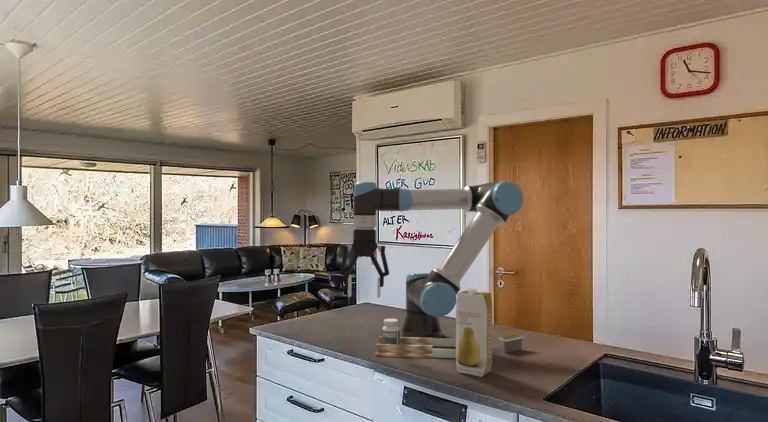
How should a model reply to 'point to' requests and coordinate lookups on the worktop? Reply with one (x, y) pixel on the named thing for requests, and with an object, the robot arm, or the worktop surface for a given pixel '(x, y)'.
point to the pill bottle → (391, 332)
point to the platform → (512, 341)
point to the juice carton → (474, 332)
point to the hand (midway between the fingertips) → (364, 296)
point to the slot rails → (406, 348)
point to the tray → (444, 352)
